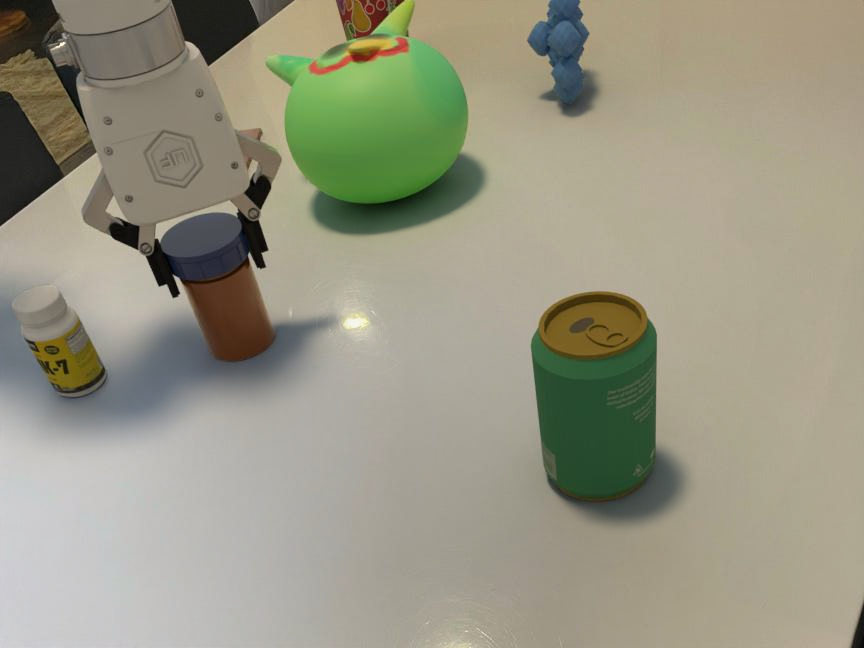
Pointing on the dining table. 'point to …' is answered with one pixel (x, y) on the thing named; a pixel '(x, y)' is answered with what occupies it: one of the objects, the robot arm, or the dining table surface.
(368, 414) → the dining table surface
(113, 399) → the dining table surface
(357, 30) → the smoothie
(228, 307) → the jar
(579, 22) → the grapes
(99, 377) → the supplement bottle
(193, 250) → the lid
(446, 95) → the toy bird
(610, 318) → the beverage can
